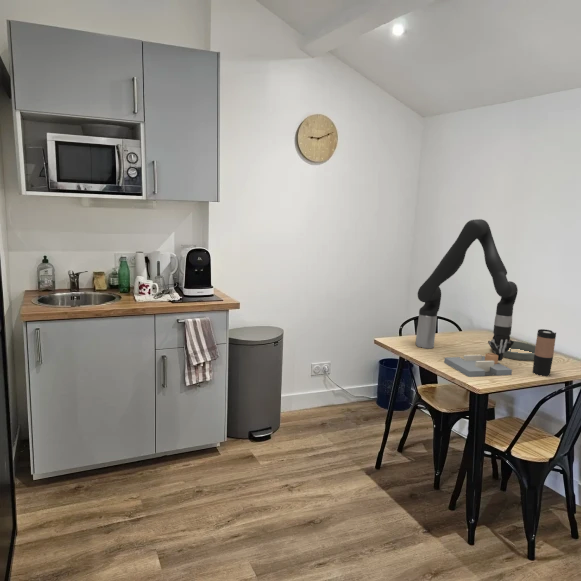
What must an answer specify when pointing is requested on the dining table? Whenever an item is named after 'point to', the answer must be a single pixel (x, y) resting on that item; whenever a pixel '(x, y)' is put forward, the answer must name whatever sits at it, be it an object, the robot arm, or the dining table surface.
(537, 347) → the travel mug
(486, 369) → the tunnel deck
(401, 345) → the dining table surface
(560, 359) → the dining table surface
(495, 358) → the block
